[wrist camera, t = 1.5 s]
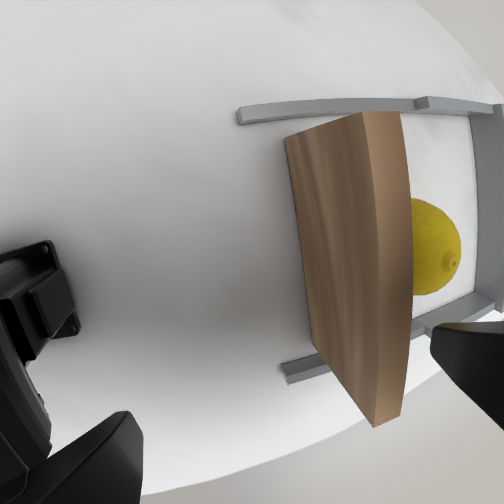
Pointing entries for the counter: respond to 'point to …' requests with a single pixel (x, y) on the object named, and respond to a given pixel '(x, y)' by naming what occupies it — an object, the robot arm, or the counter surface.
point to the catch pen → (488, 187)
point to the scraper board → (357, 252)
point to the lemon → (433, 248)
